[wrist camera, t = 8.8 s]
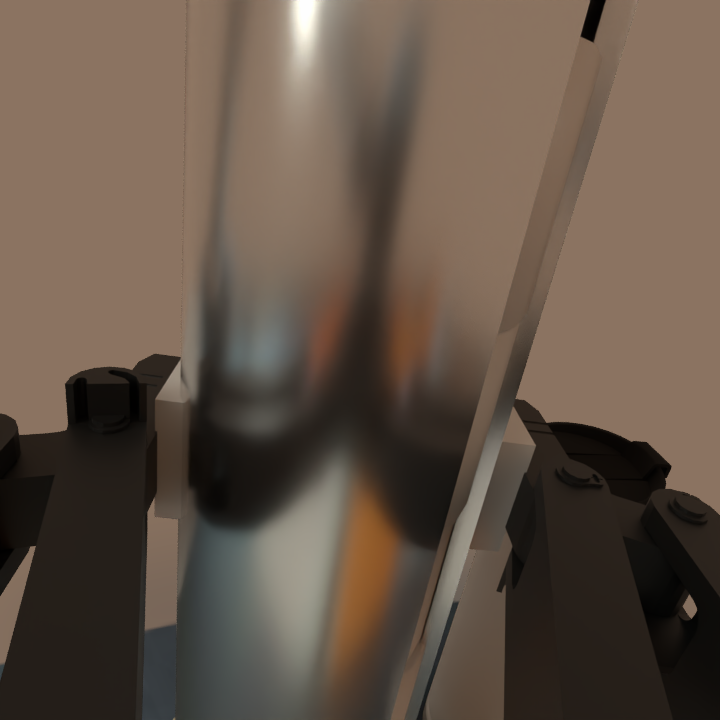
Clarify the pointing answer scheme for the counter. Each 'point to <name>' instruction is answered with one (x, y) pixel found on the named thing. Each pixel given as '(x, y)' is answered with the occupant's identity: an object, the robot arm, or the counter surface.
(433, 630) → the metal cylinder
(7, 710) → the robot arm
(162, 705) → the counter surface
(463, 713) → the travel mug
